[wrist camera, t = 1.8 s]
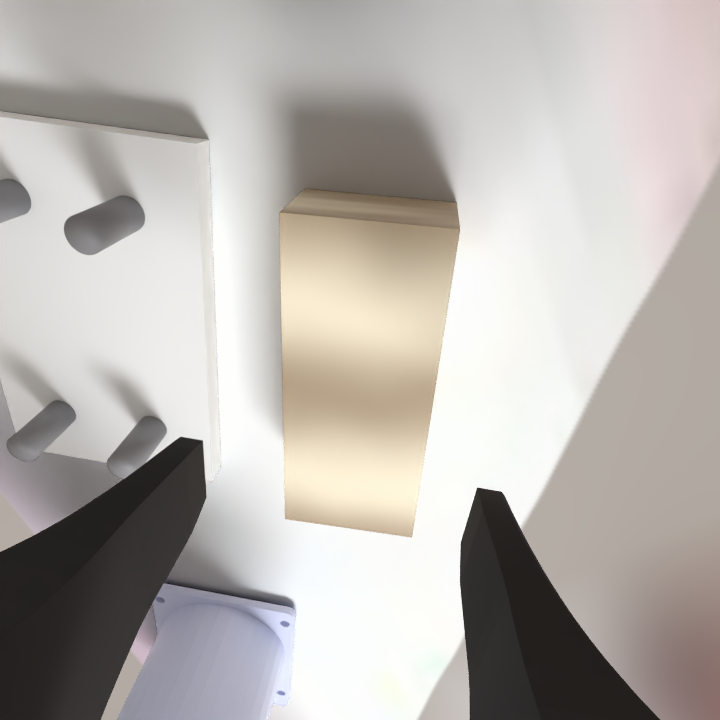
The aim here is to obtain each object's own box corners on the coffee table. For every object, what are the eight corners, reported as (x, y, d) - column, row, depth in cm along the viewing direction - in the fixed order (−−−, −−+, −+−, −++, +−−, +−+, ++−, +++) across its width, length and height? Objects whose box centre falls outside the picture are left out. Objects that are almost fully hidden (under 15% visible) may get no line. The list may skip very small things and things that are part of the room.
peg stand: (220, 466, 24) (189, 524, 21) (34, 434, 24) (-23, 486, 21) (208, 139, 17) (158, 156, 14) (-54, 104, 17) (-157, 112, 14)
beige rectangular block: (415, 475, 23) (412, 537, 20) (304, 460, 24) (285, 518, 21) (456, 199, 17) (459, 229, 14) (306, 186, 18) (279, 212, 15)
